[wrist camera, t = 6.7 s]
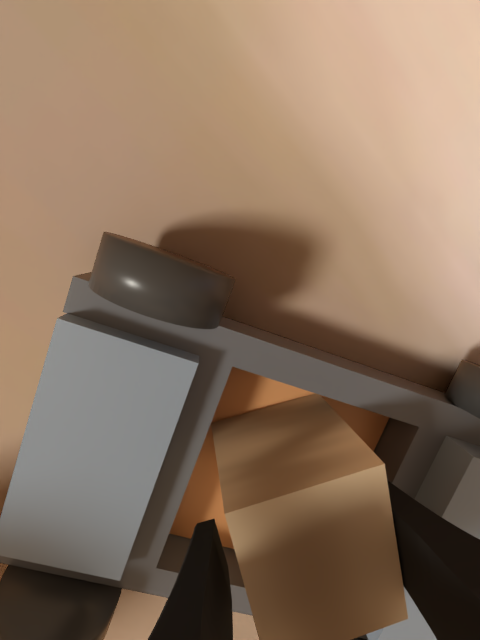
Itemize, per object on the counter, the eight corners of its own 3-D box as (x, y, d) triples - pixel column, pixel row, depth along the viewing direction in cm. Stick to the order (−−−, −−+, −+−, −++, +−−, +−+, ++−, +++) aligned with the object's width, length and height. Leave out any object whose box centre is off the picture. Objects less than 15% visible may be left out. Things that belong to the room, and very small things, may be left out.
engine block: (317, 392, 14) (384, 463, 10) (339, 504, 16) (408, 618, 11) (211, 423, 14) (224, 513, 9) (241, 536, 15) (267, 670, 10)
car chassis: (531, 383, 16) (646, 432, 12) (397, 634, 18) (454, 749, 14) (106, 228, 13) (58, 219, 9) (10, 551, 15) (-65, 666, 11)
